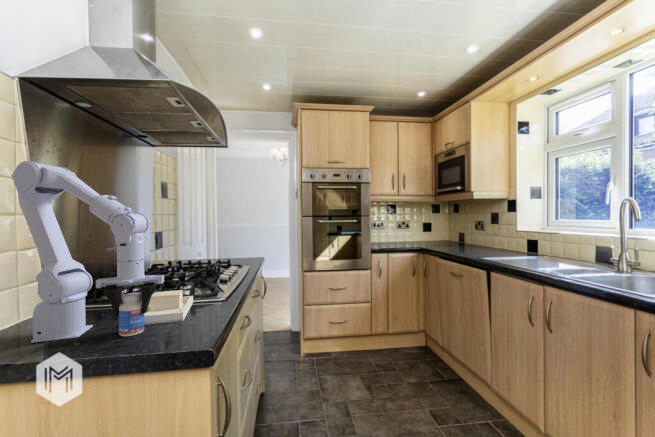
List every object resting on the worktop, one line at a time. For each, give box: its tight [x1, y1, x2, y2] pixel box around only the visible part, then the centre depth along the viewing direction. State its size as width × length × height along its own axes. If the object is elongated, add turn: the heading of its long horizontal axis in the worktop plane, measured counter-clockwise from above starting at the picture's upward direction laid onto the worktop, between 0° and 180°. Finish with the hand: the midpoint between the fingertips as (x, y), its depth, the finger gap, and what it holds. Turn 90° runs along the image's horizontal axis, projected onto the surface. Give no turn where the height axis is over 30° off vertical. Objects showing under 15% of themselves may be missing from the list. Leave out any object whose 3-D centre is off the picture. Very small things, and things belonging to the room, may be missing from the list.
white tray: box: [144, 295, 194, 326], centre depth 89 cm, size 14×18×2 cm
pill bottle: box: [118, 292, 145, 337], centre depth 74 cm, size 6×5×10 cm
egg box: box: [150, 289, 184, 311], centre depth 93 cm, size 8×6×4 cm
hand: (131, 313), depth 74 cm, fingers closed on pill bottle, 5 cm apart
